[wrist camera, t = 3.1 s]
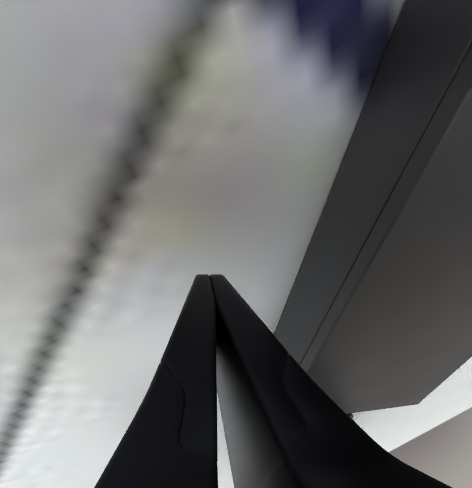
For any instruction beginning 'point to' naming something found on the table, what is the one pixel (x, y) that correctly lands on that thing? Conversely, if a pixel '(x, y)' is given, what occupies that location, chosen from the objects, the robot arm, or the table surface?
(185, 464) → the robot arm
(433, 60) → the lid
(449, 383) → the table surface
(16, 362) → the table surface
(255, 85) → the table surface
